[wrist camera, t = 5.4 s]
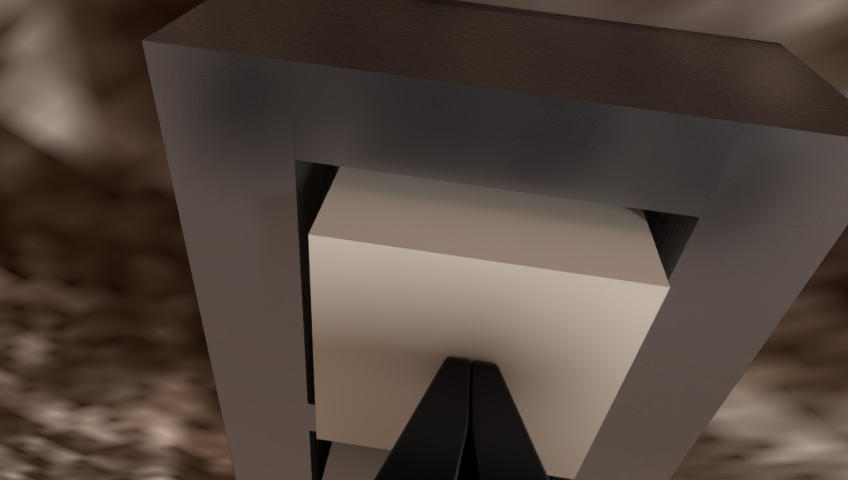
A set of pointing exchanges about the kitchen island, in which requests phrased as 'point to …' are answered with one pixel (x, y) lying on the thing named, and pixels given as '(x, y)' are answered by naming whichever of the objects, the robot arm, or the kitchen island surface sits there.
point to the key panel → (493, 183)
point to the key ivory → (475, 304)
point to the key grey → (353, 462)
